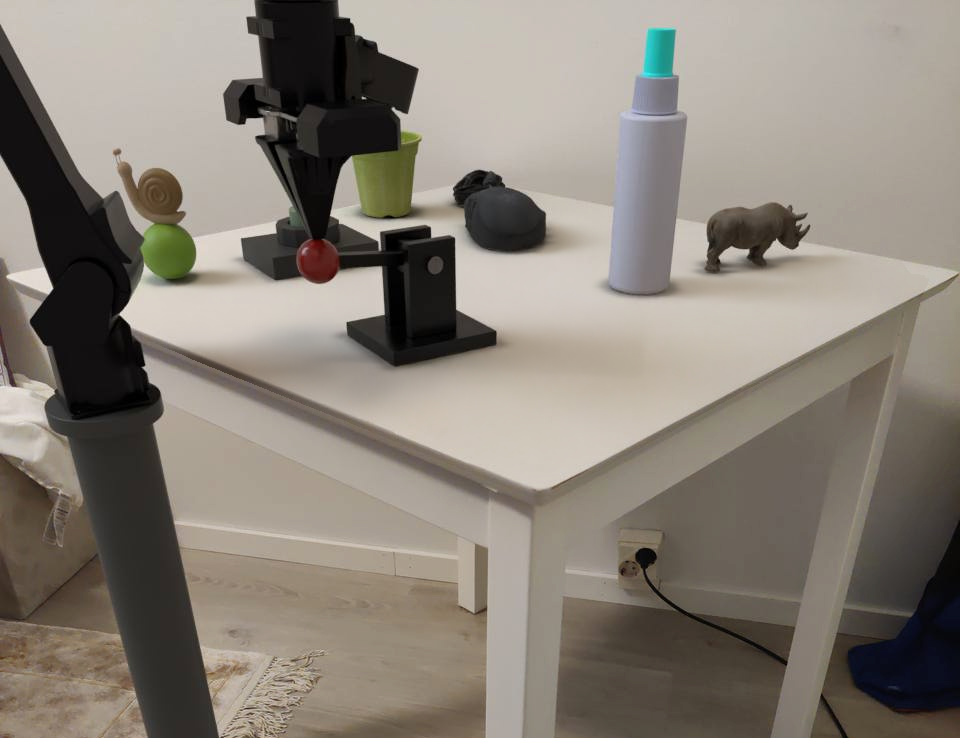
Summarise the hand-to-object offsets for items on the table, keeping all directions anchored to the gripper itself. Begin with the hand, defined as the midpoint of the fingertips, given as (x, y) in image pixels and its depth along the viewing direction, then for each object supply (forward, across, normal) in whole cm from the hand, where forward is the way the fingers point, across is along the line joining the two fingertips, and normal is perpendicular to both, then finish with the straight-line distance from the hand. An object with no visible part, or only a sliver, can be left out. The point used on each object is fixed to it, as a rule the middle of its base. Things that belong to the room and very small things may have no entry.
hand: (317, 238), depth 77 cm
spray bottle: (+10, +2, -35) cm, 36 cm away
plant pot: (+10, +43, -28) cm, 52 cm away
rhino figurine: (+10, +2, -51) cm, 52 cm away
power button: (+6, +28, -11) cm, 31 cm away
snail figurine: (+10, +30, +4) cm, 32 cm away
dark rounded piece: (+10, +33, -38) cm, 51 cm away
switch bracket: (+10, 0, -9) cm, 13 cm away
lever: (+4, 0, -4) cm, 6 cm away
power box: (+10, +28, -11) cm, 31 cm away
